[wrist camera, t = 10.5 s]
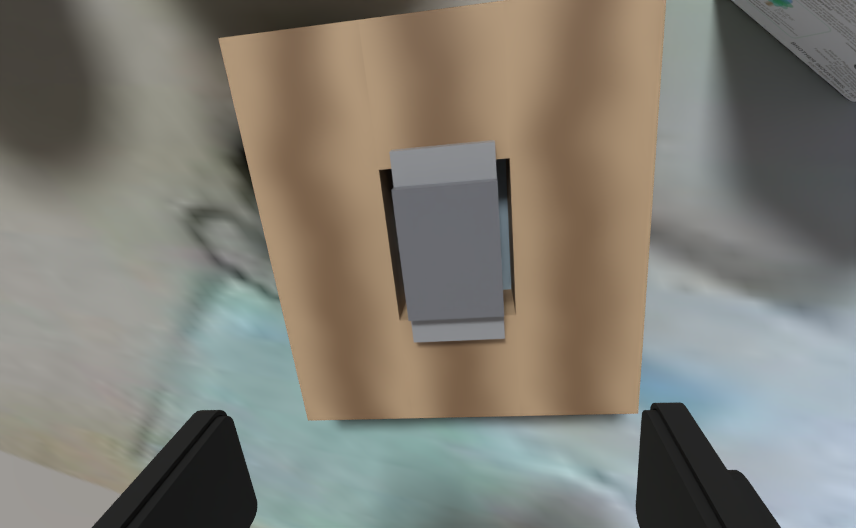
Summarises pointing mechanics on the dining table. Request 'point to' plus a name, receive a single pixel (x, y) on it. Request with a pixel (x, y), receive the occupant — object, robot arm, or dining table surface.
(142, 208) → the dining table surface
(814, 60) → the ink cartridge box
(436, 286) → the flanged block
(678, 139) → the dining table surface
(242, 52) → the wooden board
